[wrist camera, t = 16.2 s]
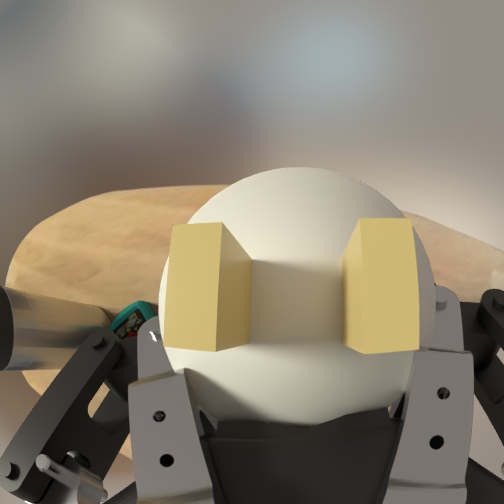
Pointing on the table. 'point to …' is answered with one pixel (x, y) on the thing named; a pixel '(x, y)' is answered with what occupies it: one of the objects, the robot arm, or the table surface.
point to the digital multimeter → (131, 319)
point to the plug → (296, 299)
